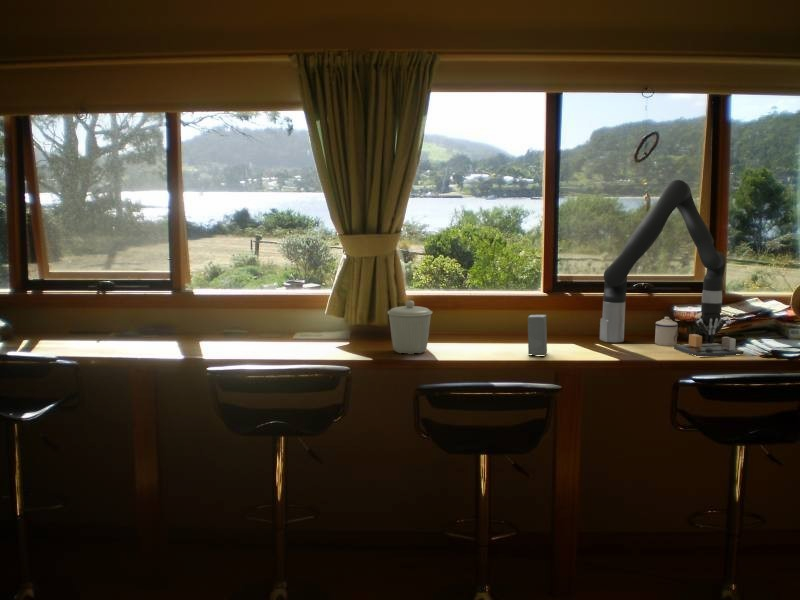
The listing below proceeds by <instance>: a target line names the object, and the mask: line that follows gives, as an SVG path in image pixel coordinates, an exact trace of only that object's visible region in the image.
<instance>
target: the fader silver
mask: <svg viewBox="0 0 800 600" xmlns="http://www.w3.org/2000/svg"><path fill="white" fill-rule="evenodd" d="M736 340H737V339H736V338H733V337H732V336H731V337H729V336H723V337H721V348H723V349H727V350H735V349H736V345H737V344H736Z"/></svg>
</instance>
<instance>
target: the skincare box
mask: <svg viewBox="0 0 800 600" xmlns="http://www.w3.org/2000/svg"><path fill="white" fill-rule="evenodd" d="M547 324H548V323H547V314H530V315H528V317H527V344H528V345H527V350H528V354H532V355H545V354H546V353H548V338H547V337H548V333H547V326H548V325H547ZM546 355H547V354H546ZM546 355H545V356H546Z"/></svg>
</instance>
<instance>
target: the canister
mask: <svg viewBox="0 0 800 600" xmlns="http://www.w3.org/2000/svg"><path fill="white" fill-rule="evenodd" d="M386 313H387V315H388V316H389V318H388V319H389V325H390V334H391V335H390V336H391V344H392V348H393V350H394V352H396V353H397V354H401V353H408V354H407V355H415V354H414V353H419V354H422V353H424V352H426V350H427V348H428V347H427V346H428V342H429V335H430V326H431V317H432V314H433V310H431V309H429V308H428V307H424V306H419V305H418V306H417V305H415V302H414V300H407V301H405V305H403V306H395V307H392V308H390V309H389V310H387V311H386Z"/></svg>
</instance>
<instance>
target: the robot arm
mask: <svg viewBox="0 0 800 600" xmlns="http://www.w3.org/2000/svg"><path fill="white" fill-rule="evenodd" d="M675 209H677V210H678V212H679V213H680V215H681V216H682V219H683V221H684V223H685V226H686V229H687V231H688V234H689V236H690V237H691V240H692V241H693V243H694V245H695V248H696V250H697V253H698V256H699V259H700V262H701V264H702V265H703V266H704V268H706V274H705V276H704V278H703V283H702V293H701V305H700V306H701V307H700V309H701V310H700V312H701V315H700V319H698V320H696V321H694V322H695V325H696V326H697V327H698V329H699V331H700V332H701V333H703V334H705V344H712V343H714V341H715V334H718V333H719V332H720V331H721V330H722V329H723V327H724V326H725V324H726V323H727V322H726V320H725V319H723V318H722V315H721V313H722V309H723V308H722V306H723V277H724V273H725V269H726V257H725V255H724V253H722V252H721V251H717V249H716V248H715V245H714V243H715V240H714V238H713V236H712V234H711V232H710V230H709V228H708V227H707V225H706V223H705V222H704V219H703V218H702V216H701V214H700V212H699V211H698V209H697V206H696V203H695V202H694V199H693V194H692V191H691V187H690V185H689V184H688V183H686V182H685V181H684V180H681V179H675V180H671V182H669V183H668V184H667V185H666V186H665V188H664V189H663V191H662V192H661V195H660V196H659V198H658V200H657V201H656V203H655V205H654V206H653V207H652V209H651V210H650V211H649V212H648V213H646V216H644V218H643V219H642V220H641V221H640V223H639V224H638V226H636V228H635V229H634V231H633V232H632V234H631V235H630V237H629V238H628V240H627V242H626V244H625V245H624V247H623V249H622V251H621V252H620V253H619V254H618V255H617V257H616V258H615V260H613V262H612V263H610V264H609V266H607V267H606V268H605V270H604V271H603V280H604V286H603V287H604V290H603V297H602V317H600V319H599V320H600V322H599V325H600V326H599V340H600V341H602V342H605V343H623V342H624V341H625V339H624V338H625V319H626V317H625V316H626V315H625V314H626V298H627V297H626V296H627V287H628V285H627V284H628V275H629V273H630V272H631V270H632V269H633V267H634V266H635V264H636V263H637V262H638V261H639V260H640V259H641V258H642V257H643V256H644V255H645V254H646V252H647V251H648V250H649V249H650V248H651V247H652V246H653V245H654V244H655V242H656V241H657V239H658V238H659V236H660V234H661V233H662V231H663V229H664V228H665V225H666V223H667V222H668V220H669V217H670V215H671V214H673V212H674V211H675Z"/></svg>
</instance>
